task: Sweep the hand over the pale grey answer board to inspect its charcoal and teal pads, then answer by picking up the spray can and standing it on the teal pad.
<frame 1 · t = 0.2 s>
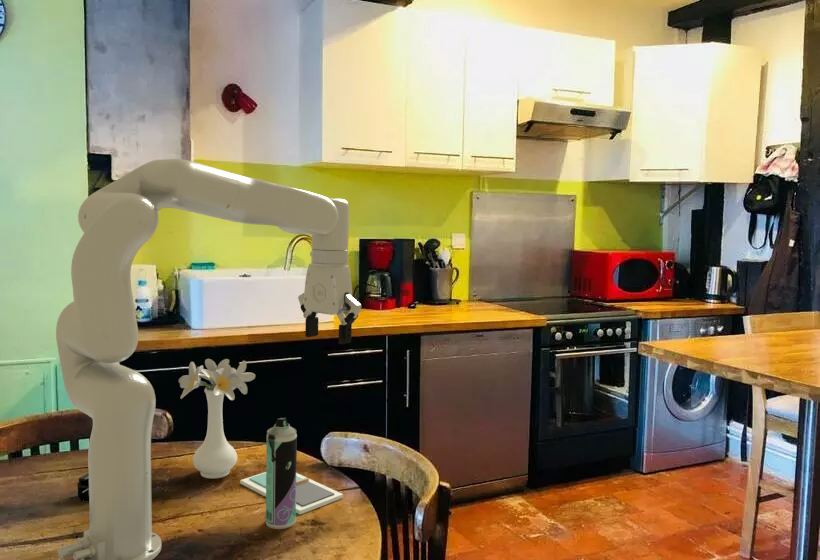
hand: (327, 339, 144), 31 cm above the table, tool pointing down, fingers open, 9 cm apart
build plate: (91, 499, 137), on the table
flower vase: (215, 473, 151), on the table
answer board: (290, 490, 142), on the table
spray can: (280, 523, 128), on the table
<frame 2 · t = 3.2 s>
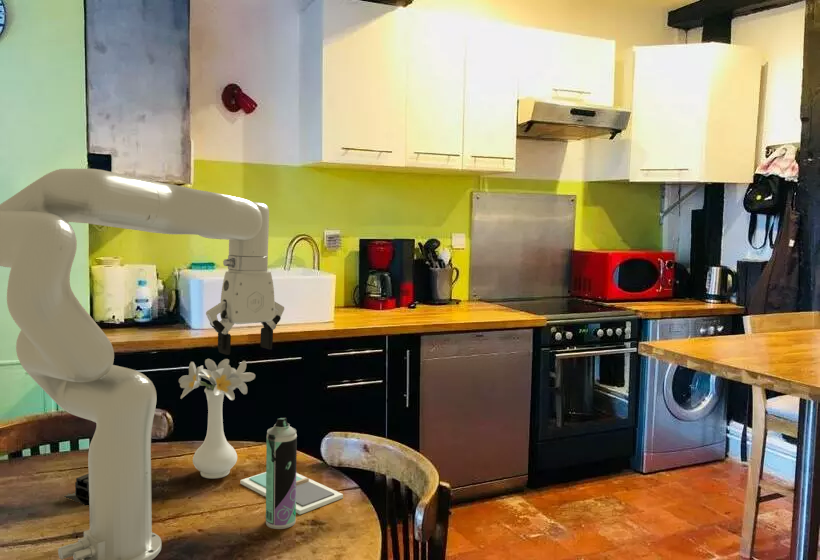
hand: (245, 350, 137), 30 cm above the table, tool pointing down, fingers open, 9 cm apart
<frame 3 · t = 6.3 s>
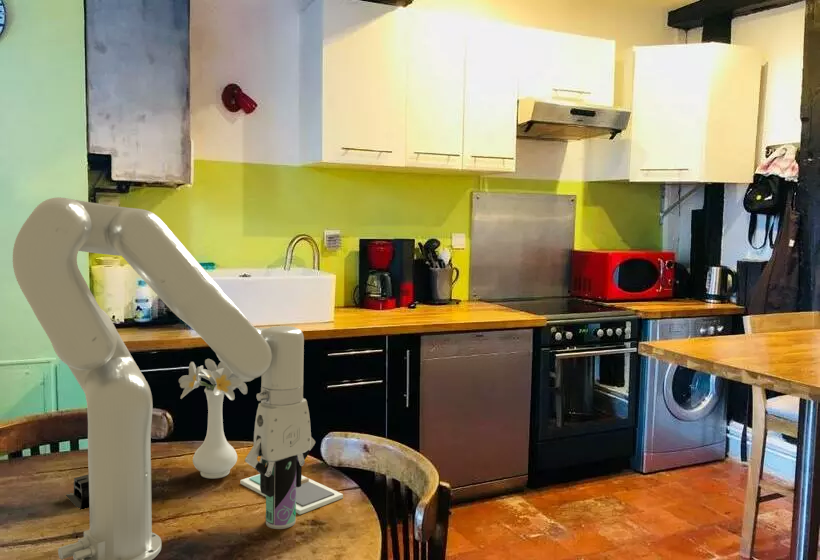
hand: (281, 488, 128), 7 cm above the table, tool pointing down, fingers closed on spray can, 5 cm apart
spray can: (280, 523, 128), on the table, touching gripper
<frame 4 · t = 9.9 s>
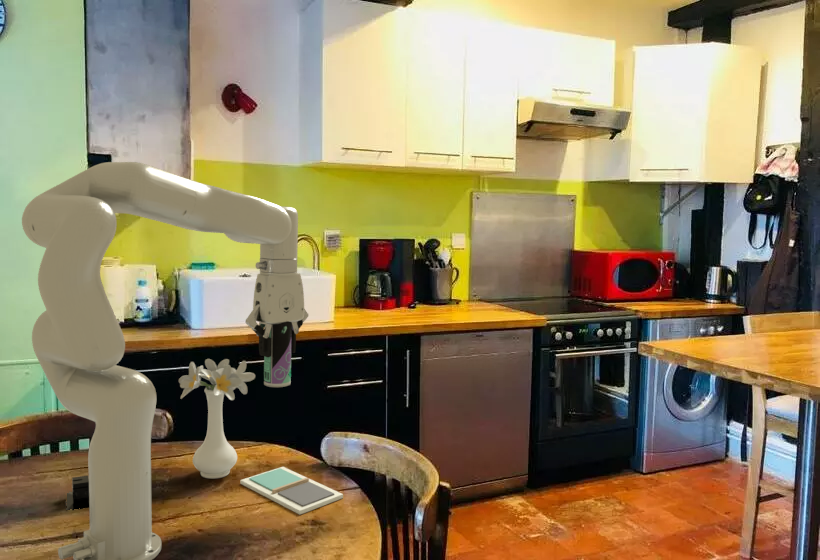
hand: (277, 353, 143), 28 cm above the table, tool pointing down, fingers closed on spray can, 5 cm apart
spray can: (277, 384, 143), point 21 cm above the table, touching gripper
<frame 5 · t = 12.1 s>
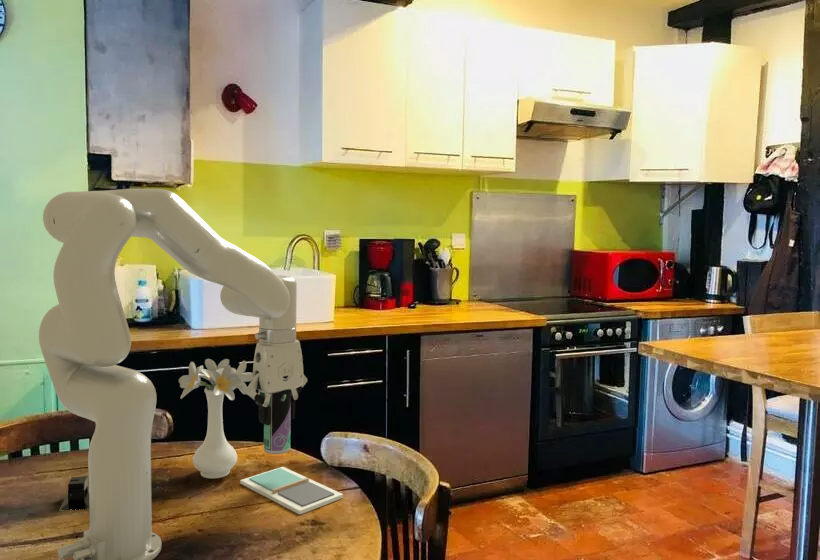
hand: (277, 419, 144), 14 cm above the table, tool pointing down, fingers closed on spray can, 5 cm apart
spray can: (277, 450, 145), point 7 cm above the table, touching gripper
when the fingers open (9 cm above the table, at t = 13.7 s): spray can drops 1 cm, resting on answer board.
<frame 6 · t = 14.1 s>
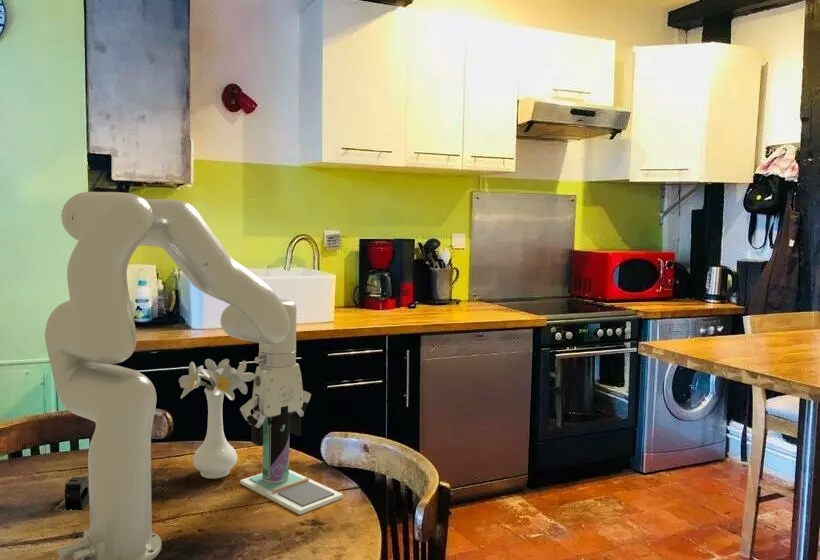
hand: (276, 438, 145), 10 cm above the table, tool pointing down, fingers open, 9 cm apart
spray can: (275, 479, 145), point 1 cm above the table, touching answer board
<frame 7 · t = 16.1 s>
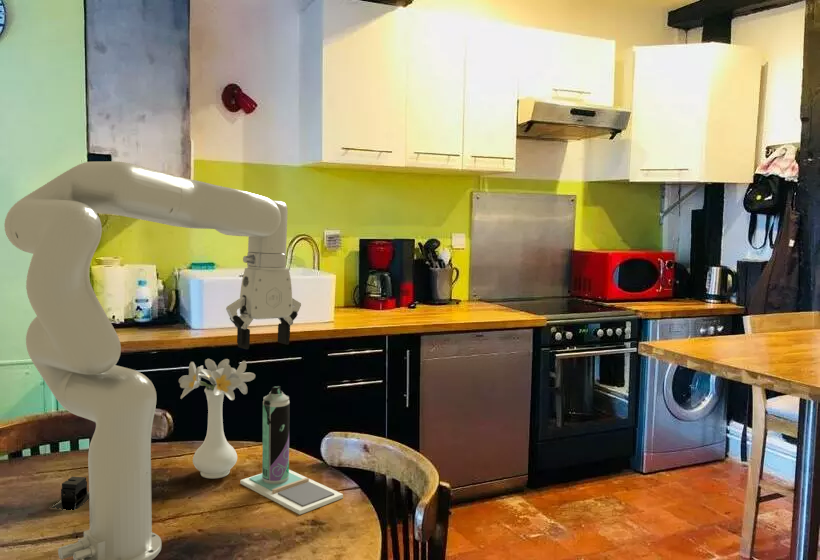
hand: (263, 345, 140), 30 cm above the table, tool pointing down, fingers open, 9 cm apart
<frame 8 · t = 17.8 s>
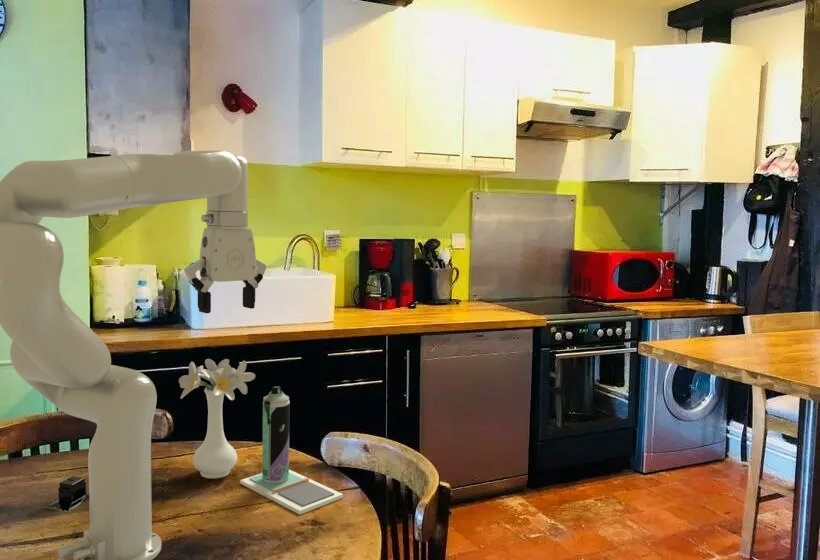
hand: (227, 310, 133), 38 cm above the table, tool pointing down, fingers open, 9 cm apart
at the end: spray can inside the target area on the answer board (0.4 cm from its centre), point 0.9 cm above the answer board's base; spray can tilted 0°; the gripper is holding nothing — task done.
